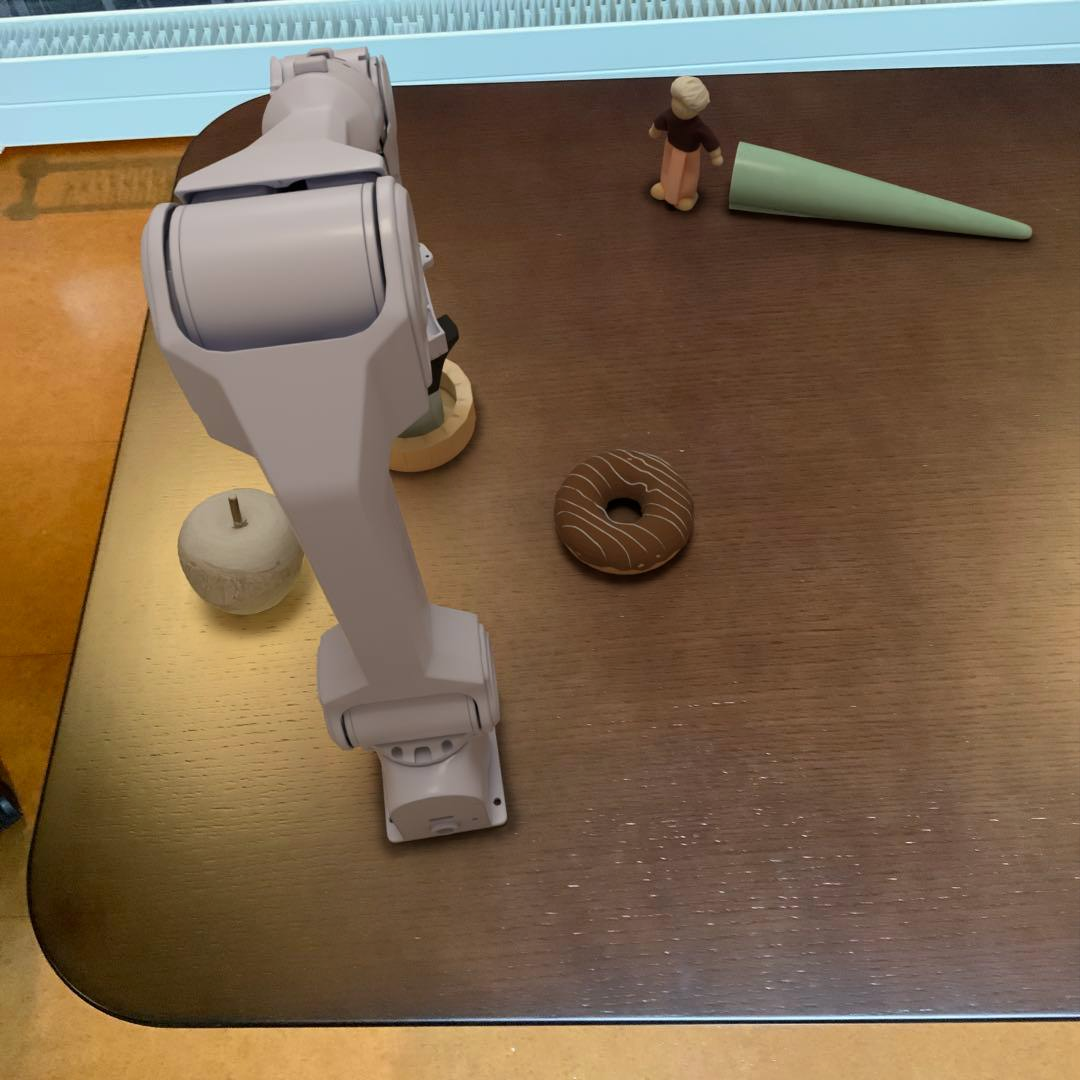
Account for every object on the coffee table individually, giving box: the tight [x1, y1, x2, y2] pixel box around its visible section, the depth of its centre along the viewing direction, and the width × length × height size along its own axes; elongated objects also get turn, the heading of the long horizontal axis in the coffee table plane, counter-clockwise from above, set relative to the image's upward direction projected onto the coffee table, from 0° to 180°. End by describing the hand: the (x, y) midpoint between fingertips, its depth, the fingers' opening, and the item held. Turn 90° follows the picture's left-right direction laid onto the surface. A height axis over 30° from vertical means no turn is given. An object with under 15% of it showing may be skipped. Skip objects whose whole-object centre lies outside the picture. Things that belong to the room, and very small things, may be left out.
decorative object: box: [176, 487, 305, 616], centre depth 76 cm, size 9×9×10 cm
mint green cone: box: [728, 141, 1033, 240], centre depth 94 cm, size 5×6×27 cm
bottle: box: [397, 389, 444, 439], centre depth 82 cm, size 5×5×10 cm
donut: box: [553, 448, 695, 575], centre depth 79 cm, size 11×11×4 cm
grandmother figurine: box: [648, 75, 724, 212], centre depth 93 cm, size 8×4×13 cm, turn 62°
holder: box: [389, 358, 477, 473], centre depth 86 cm, size 10×10×3 cm
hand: (400, 360), depth 80 cm, fingers open, 7 cm apart
